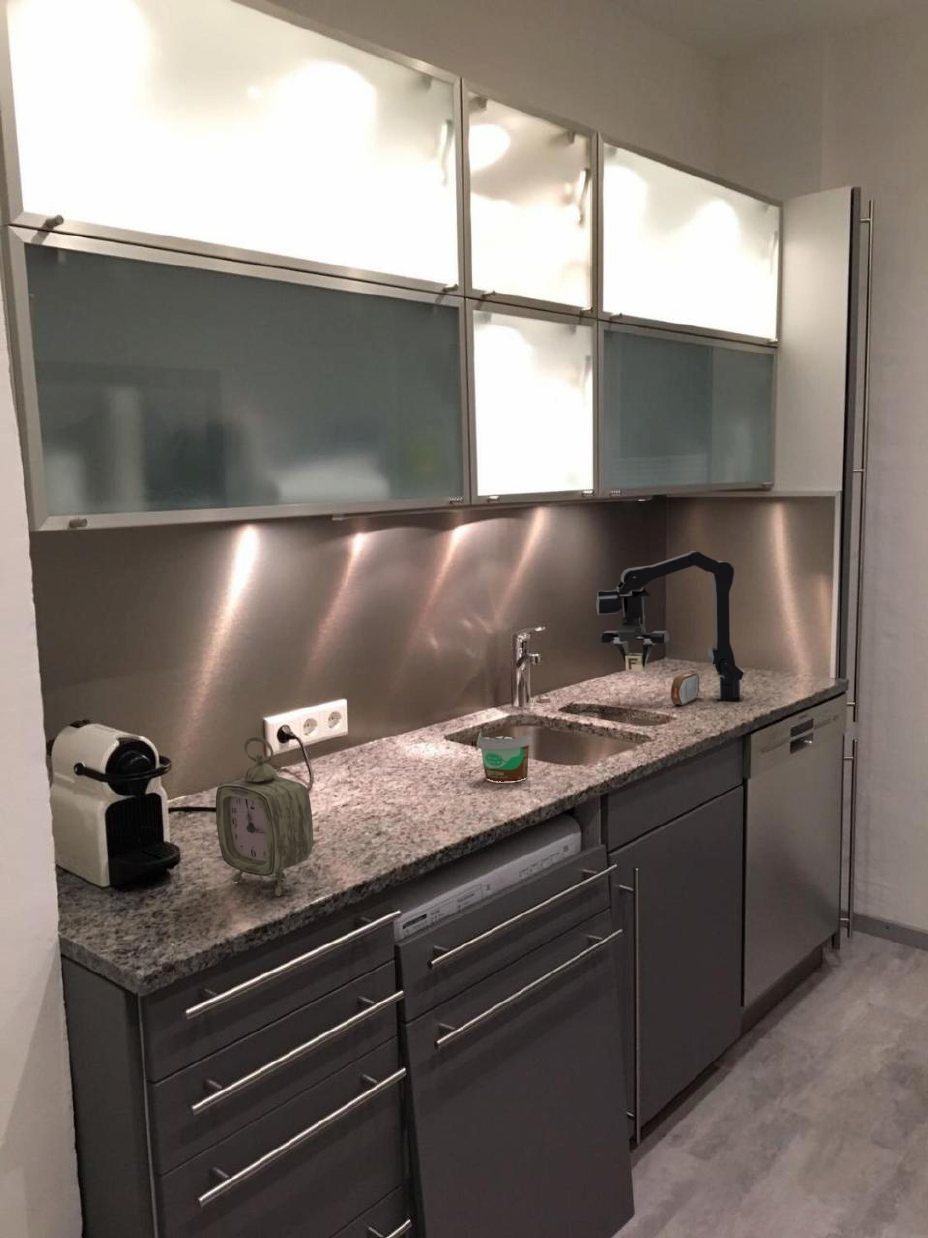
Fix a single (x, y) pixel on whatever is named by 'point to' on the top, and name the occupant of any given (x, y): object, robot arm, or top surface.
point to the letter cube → (634, 662)
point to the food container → (505, 757)
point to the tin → (685, 688)
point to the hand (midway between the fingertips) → (635, 666)
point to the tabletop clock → (264, 821)
